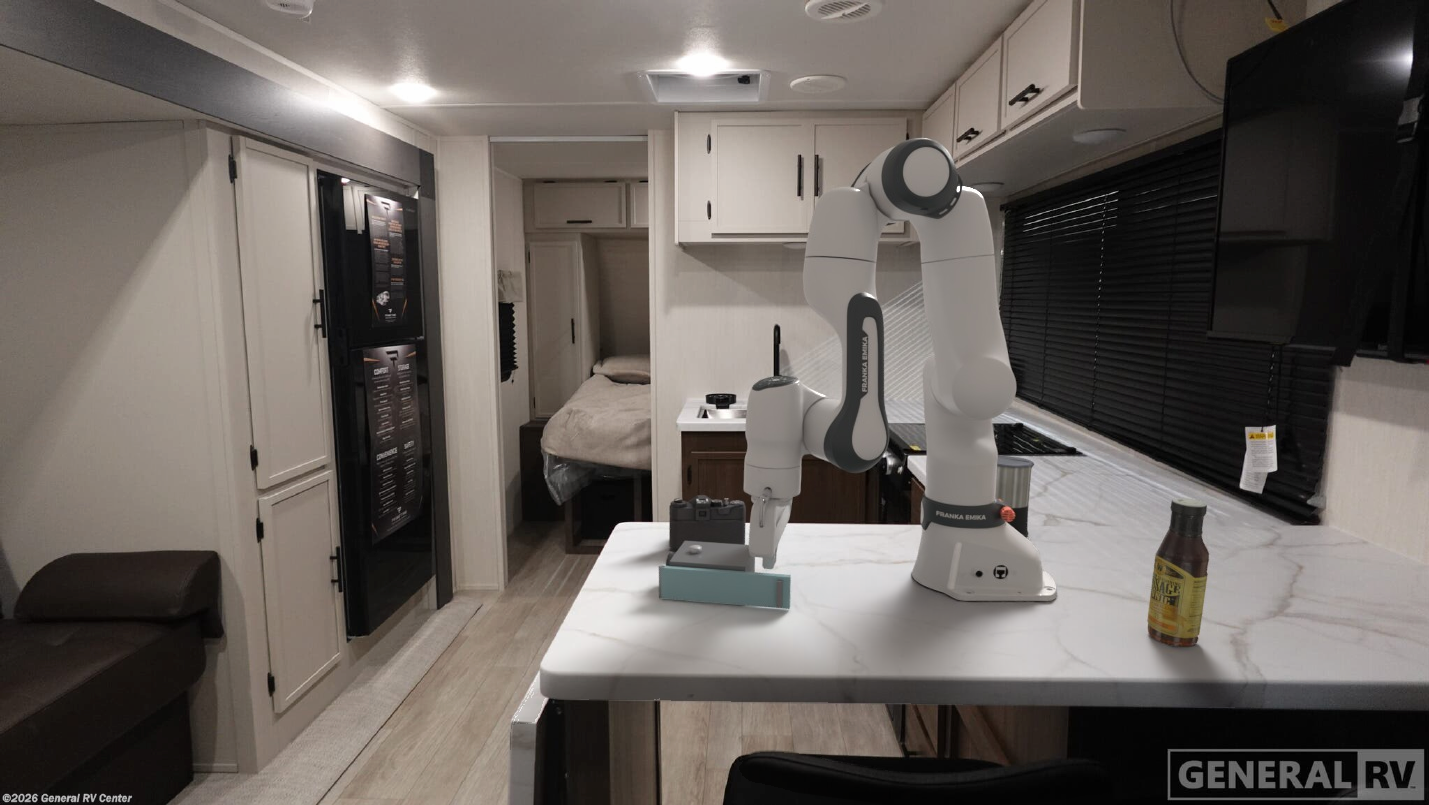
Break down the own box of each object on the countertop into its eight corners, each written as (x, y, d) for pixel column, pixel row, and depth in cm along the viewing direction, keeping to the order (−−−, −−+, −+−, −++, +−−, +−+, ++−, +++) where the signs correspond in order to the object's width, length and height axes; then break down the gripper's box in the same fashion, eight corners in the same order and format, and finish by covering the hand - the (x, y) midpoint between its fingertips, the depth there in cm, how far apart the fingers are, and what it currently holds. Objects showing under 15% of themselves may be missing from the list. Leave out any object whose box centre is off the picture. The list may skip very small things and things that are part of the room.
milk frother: (1023, 526, 154) (1027, 455, 151) (1042, 552, 138) (1047, 474, 136) (951, 522, 156) (954, 453, 154) (962, 548, 141) (966, 471, 139)
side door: (790, 606, 113) (790, 575, 113) (789, 611, 112) (789, 579, 111) (660, 595, 118) (659, 565, 117) (656, 600, 116) (656, 569, 115)
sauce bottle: (1136, 630, 106) (1148, 494, 103) (1177, 628, 107) (1190, 493, 104) (1167, 651, 100) (1181, 508, 97) (1211, 650, 100) (1226, 506, 98)
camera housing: (754, 579, 125) (755, 540, 124) (745, 604, 115) (745, 561, 114) (677, 573, 128) (676, 535, 127) (661, 597, 118) (660, 555, 117)
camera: (739, 533, 149) (739, 485, 148) (747, 552, 138) (747, 500, 137) (667, 536, 148) (667, 487, 146) (670, 555, 137) (669, 502, 136)
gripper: (783, 500, 105) (780, 593, 107) (799, 467, 125) (796, 547, 127) (739, 496, 107) (737, 588, 109) (762, 465, 126) (759, 543, 128)
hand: (769, 565), depth 118 cm, fingers closed
